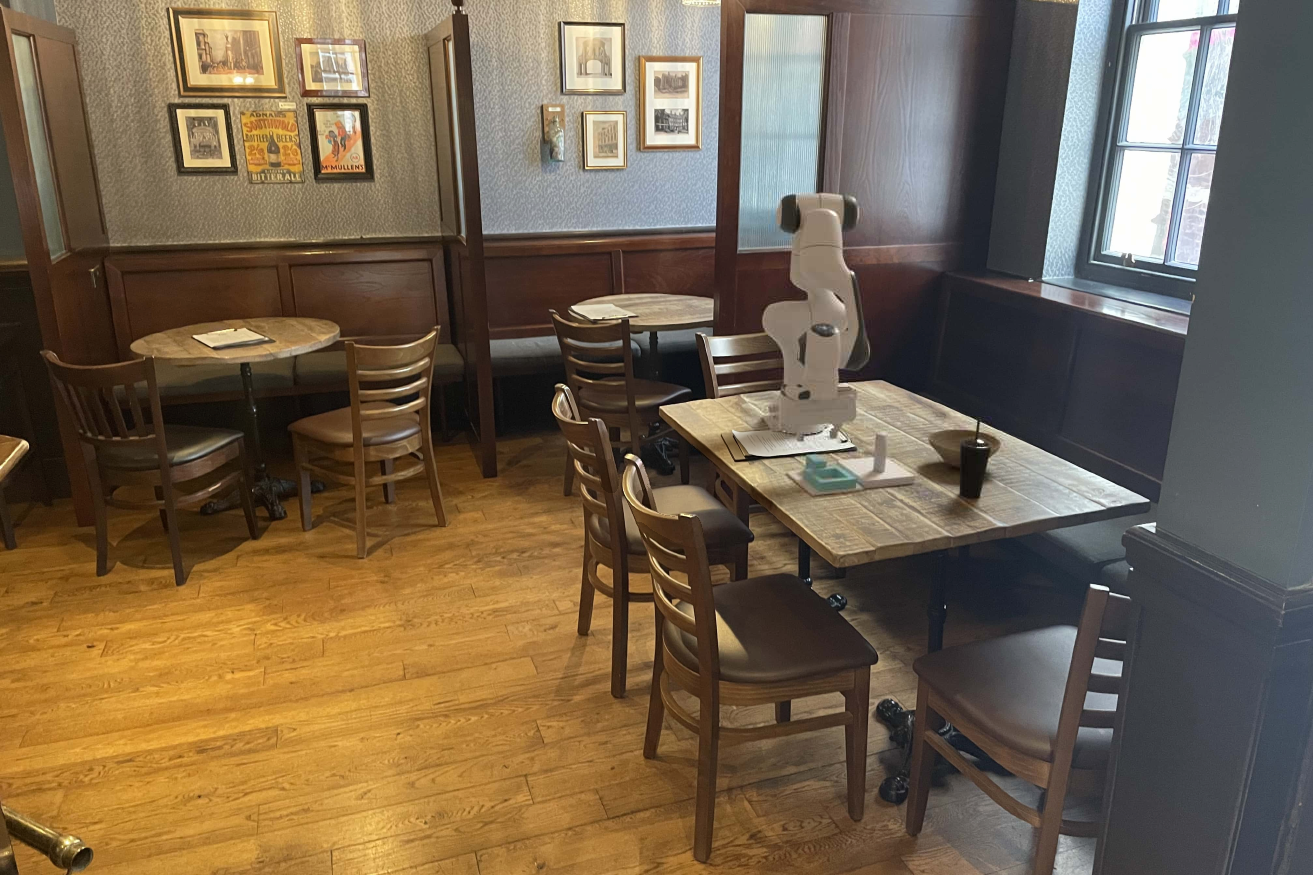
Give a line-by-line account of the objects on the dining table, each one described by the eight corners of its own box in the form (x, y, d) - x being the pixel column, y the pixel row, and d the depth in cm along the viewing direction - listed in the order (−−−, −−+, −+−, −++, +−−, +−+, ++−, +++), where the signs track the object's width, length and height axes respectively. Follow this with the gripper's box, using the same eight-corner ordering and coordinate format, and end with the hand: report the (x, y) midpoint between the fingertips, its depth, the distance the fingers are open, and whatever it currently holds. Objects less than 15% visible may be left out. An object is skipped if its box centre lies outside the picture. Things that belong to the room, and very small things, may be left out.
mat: (786, 473, 242) (786, 471, 242) (834, 469, 246) (834, 467, 246) (812, 495, 228) (812, 493, 227) (863, 490, 231) (863, 487, 231)
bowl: (922, 473, 243) (924, 444, 241) (929, 452, 260) (932, 425, 257) (996, 482, 237) (999, 453, 235) (998, 460, 253) (1002, 433, 251)
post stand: (836, 467, 247) (839, 424, 243) (883, 463, 251) (886, 421, 247) (865, 488, 232) (868, 443, 229) (914, 483, 236) (918, 438, 232)
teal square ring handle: (793, 470, 243) (793, 456, 242) (827, 467, 246) (828, 453, 244) (819, 491, 228) (820, 476, 227) (855, 488, 231) (857, 473, 230)
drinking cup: (985, 502, 224) (995, 424, 218) (952, 498, 226) (961, 420, 220) (986, 491, 231) (996, 415, 224) (954, 487, 233) (963, 412, 227)
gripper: (851, 382, 240) (847, 432, 245) (778, 387, 235) (776, 438, 239) (863, 389, 234) (858, 440, 239) (788, 394, 229) (785, 446, 234)
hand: (816, 439), depth 239 cm, fingers open, 8 cm apart
